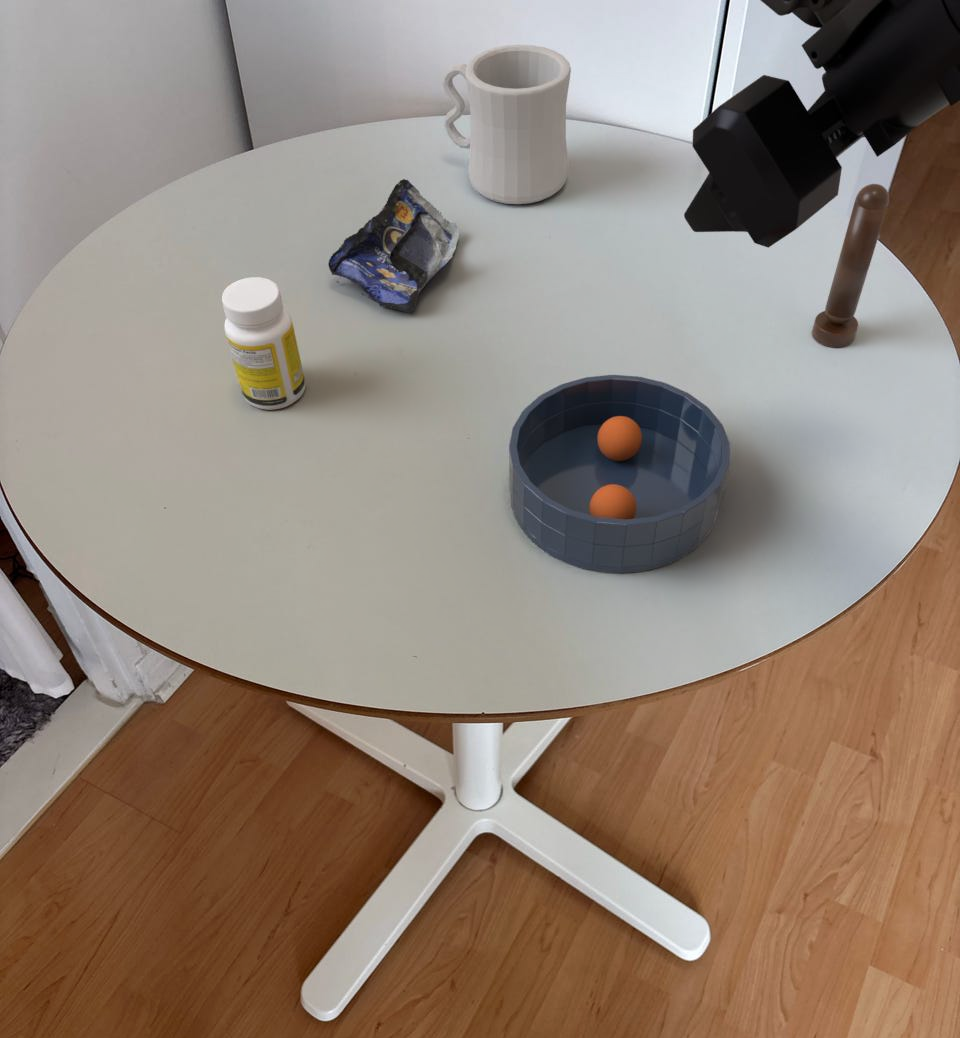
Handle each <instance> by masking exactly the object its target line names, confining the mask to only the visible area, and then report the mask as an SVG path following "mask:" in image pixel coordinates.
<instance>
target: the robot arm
mask: <svg viewBox="0 0 960 1038" xmlns="http://www.w3.org/2000/svg"><path fill="white" fill-rule="evenodd" d="M760 2H761V3H763V4H764V5H765V6H767V7H768V8H769V9H770V11H771V10H772V11H773V12H774V13H775V14H776V15H777V16H780V17H783V16H786V15H790V14H792V15H794V16H795V17H797V18H798V19H799V20H800V21H801V22H802V23H804V24H806V25H808V26H810V27H813V28H815V29H818V30H817V31H816V32H815V33H813V34H812V35H810V37H809V38H807V39H806V41H804V42H803V43H802V44H801V47H802V49H803V51H804V53H805V54H806V55H807V57H808V59H809V61H810V62H811V64H812V65H813V68H814V69H816V70H819V69H821V68H822V69H823V70H824V71H825V72H824V73H823V74H822V76H821V81H822V86H823V89H824V91H823V92H822V93H821V94H820V95H819V96H818V98H817V99H816V100H815V101H814V102H813V103H812V105H811V106H810V107H809V109H807V108H806V106H805V105H804V103H803V101H802V100H801V98H800V96H799V95H798V93H797V92H796V90H795V88H794V87H793V85H792V84H791V82H790V80H787V79H784V78H778V77H775V76H770V75H767V74H762V75H761V76H760V77H758V78H756V79H755V80H754V81H752V82H751V83H750V84H748V85H747V86H746V87H743V89H742V90H740V91H739V92H737V93H736V94H734V95H733V96H731V97H730V98H729V99H727V100H726V101H724V102H723V103H721V104H720V105H719V106H717V107H716V109H714V110H713V111H712V112H711V113H710V114H709V115H708V116H707V117H706V118H704V119H703V120H702V121H701V122H700V123H699V124H698V125H697V126H695V127H694V129H692V145H691V146H692V148H693V150H694V151H695V153H696V155H697V156H698V158H699V159H700V160H701V163H702V164H703V165H704V166H705V168H706V170H707V172H708V174H707V176H706V177H705V179H704V181H703V182H702V184H701V186H700V188H699V189H698V190H697V192H696V194H695V195H694V197H693V198H692V200H691V202H690V204H689V205H688V207H687V209H686V210H685V212H684V213H683V217H684V219H685V221H686V223H687V225H688V226H689V227H690V229H691V230H692V231H693V232H694V233H722V232H724V233H726V232H727V233H729V232H730V233H732V232H733V233H734V232H736V233H738V232H739V233H741V232H742V233H747V234H748V235H749V237H750V239H751V240H752V242H753V243H754V244H756V245H758V246H762V247H765V248H770V247H771V246H773V245H775V244H776V243H778V242H779V241H781V240H782V239H784V238H785V237H787V236H788V235H790V234H791V233H793V232H795V231H796V230H797V229H799V228H800V227H801V226H802V225H803V224H805V223H806V222H807V221H808V220H810V218H812V217H813V216H814V215H816V214H818V212H819V211H820V210H822V209H823V208H824V207H825V206H826V205H828V203H830V202H832V201H833V200H834V199H835V198H836V197H837V196H839V192H840V191H839V190H840V184H841V183H840V182H841V176H842V169H843V168H842V167H843V166H842V165H841V163H840V162H839V159H838V158H839V157H840V156H841V155H842V154H844V153H845V152H846V151H847V150H848V149H850V148H851V147H852V146H853V145H855V144H856V143H857V142H859V141H860V140H861V139H862V138H865V139H866V141H867V143H868V144H869V146H870V148H871V150H872V151H873V153H874V154H875V156H876V158H878V157H879V156H881V155H882V154H884V153H885V152H887V151H889V150H890V149H891V148H893V147H894V146H895V145H897V144H898V143H899V142H900V141H901V140H903V139H904V138H905V137H907V136H908V135H909V134H910V133H911V132H913V131H914V130H915V129H916V128H917V127H918V126H919V125H921V124H922V123H924V122H925V121H927V120H928V119H930V118H931V117H932V116H934V115H935V114H937V113H938V112H940V111H941V110H942V109H944V108H946V107H947V106H948V105H949V106H950V107H953V106H954V105H955V104H957V103H959V101H960V0H760Z"/></svg>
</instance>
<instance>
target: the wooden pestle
mask: <svg viewBox="0 0 960 1038" xmlns="http://www.w3.org/2000/svg"><path fill="white" fill-rule="evenodd" d="M889 203H890V194H889V192H888V189H886V187H885V186H883V185H881V184H879V183H869V184H868V185H864V187H862V188H861V189H860V190H859V191H858V193H857V194H856V197H855V199H854V203H853V206H852V209H851V214H850V218H849V221H848V225H847V228H846V232H845V235H844V238H843V243H842V246H841V249H840V253H839V257H838V260H837V263H836V267H835V272H834V275H833V279H832V281H831V285H830V289H829V293H828V296H827V300H826V303H825V308H824V310H823V311H821V312H819V313H818V314H817V315H816V316H815V319H814V323H813V326H812V329H811V335H812V338H813V339H814V340H815V341H816V342H817V343H819V344H820V345H823V346H825V347H830V348H844V347H847V346H849V345H851V344H852V343H853V341H854V340H855V338H856V334H857V332H858V328H859V321H858V319H857V318H856V317H855V314H856V312H857V308H858V305H859V302H860V298H861V295H862V292H863V289H864V286H865V283H866V279H867V276H868V272H869V269H870V266H871V262H872V259H873V256H874V252H875V249H876V247H877V243H878V241H879V236H880V234H881V229H882V227H883V223H884V220H885V217H886V213H887V210H888V207H889Z"/></svg>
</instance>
